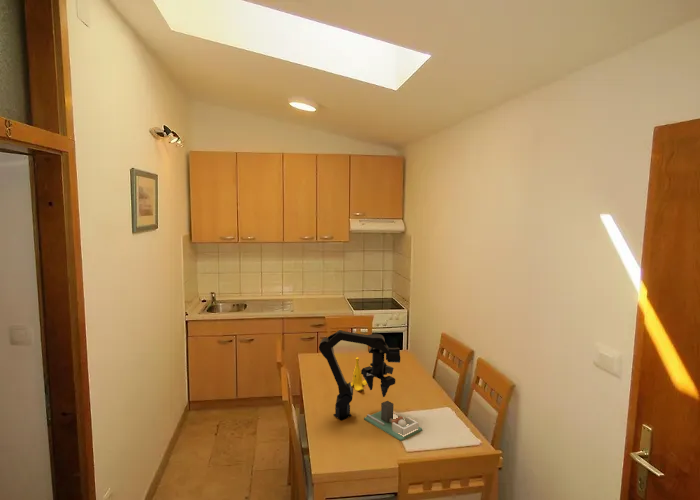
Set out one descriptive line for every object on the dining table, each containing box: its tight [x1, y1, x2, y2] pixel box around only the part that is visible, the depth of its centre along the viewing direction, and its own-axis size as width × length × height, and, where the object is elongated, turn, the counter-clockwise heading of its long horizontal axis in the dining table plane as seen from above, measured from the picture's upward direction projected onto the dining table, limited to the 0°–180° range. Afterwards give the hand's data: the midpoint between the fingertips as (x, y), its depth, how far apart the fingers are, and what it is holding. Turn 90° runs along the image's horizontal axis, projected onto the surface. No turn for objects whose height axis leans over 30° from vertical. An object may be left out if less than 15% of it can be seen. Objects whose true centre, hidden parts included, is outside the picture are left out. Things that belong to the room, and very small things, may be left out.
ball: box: [398, 418, 407, 428], centre depth 188 cm, size 4×4×4 cm
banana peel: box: [346, 357, 368, 392], centre depth 236 cm, size 17×19×17 cm
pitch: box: [363, 410, 423, 442], centre depth 193 cm, size 14×24×4 cm, turn 39°
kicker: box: [380, 400, 404, 424], centre depth 193 cm, size 6×9×8 cm, turn 39°
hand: (377, 393), depth 199 cm, fingers open, 9 cm apart
